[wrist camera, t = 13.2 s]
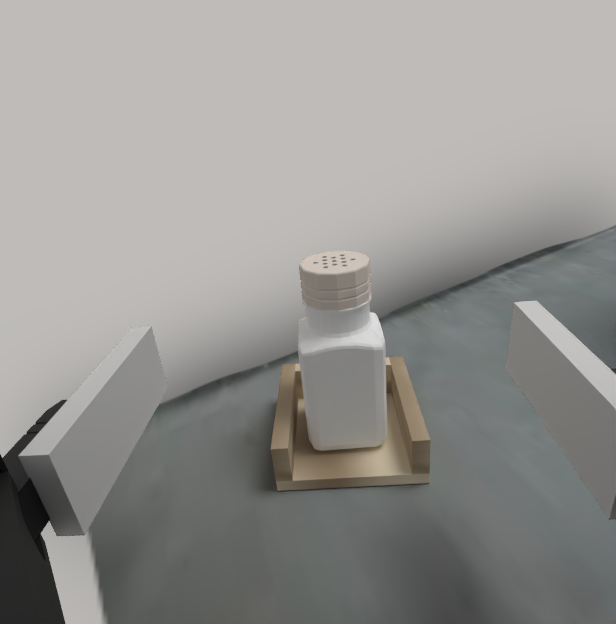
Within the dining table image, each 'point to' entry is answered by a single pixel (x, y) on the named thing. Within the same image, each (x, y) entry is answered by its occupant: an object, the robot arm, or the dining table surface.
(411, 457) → the tray
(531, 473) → the dining table surface
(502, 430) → the dining table surface
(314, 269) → the pepper shaker
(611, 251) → the dining table surface
